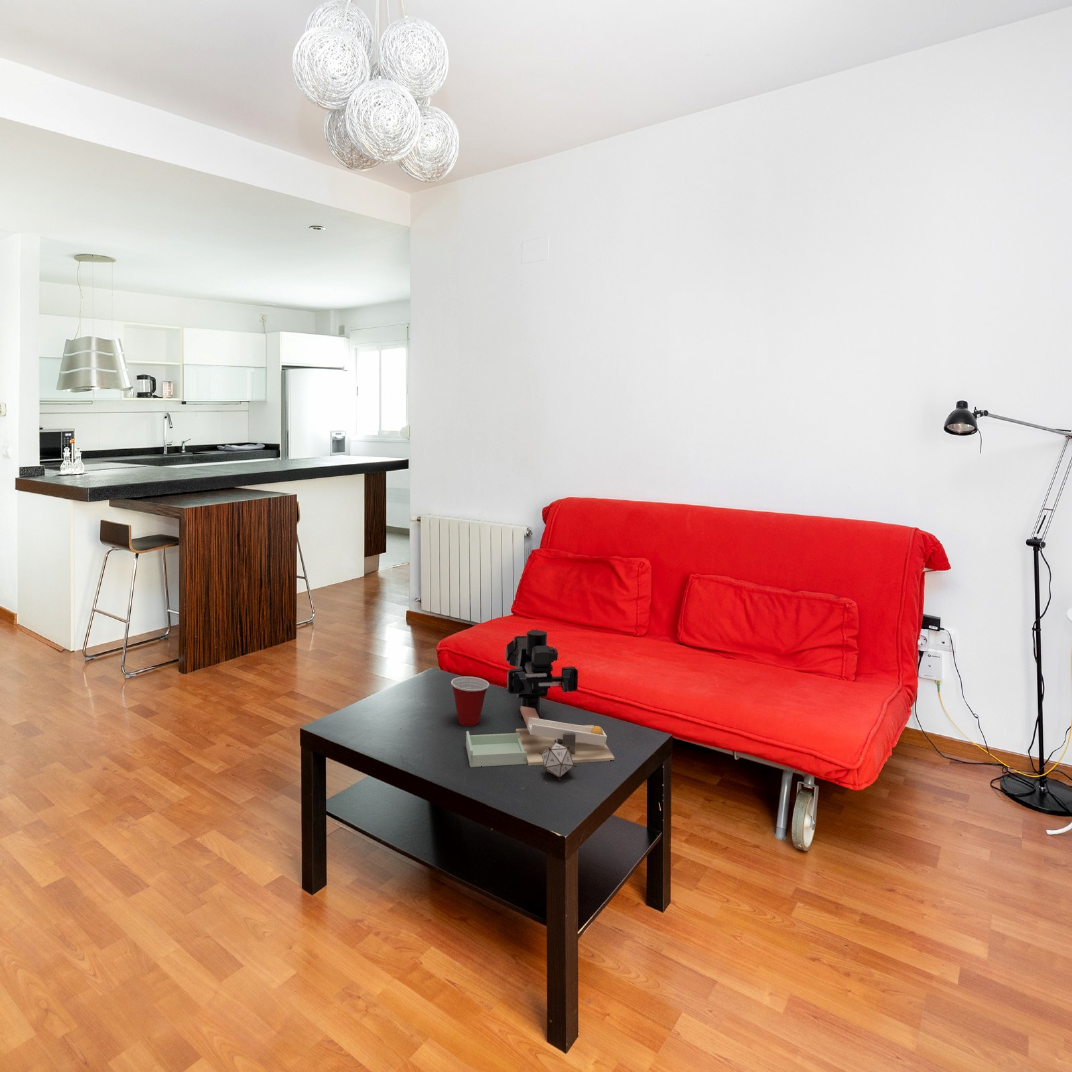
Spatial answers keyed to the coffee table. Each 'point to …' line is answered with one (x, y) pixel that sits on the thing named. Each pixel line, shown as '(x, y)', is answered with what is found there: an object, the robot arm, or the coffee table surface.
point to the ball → (597, 730)
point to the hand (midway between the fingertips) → (548, 691)
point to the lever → (559, 728)
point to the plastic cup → (469, 698)
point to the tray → (495, 749)
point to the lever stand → (579, 749)
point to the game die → (557, 759)
